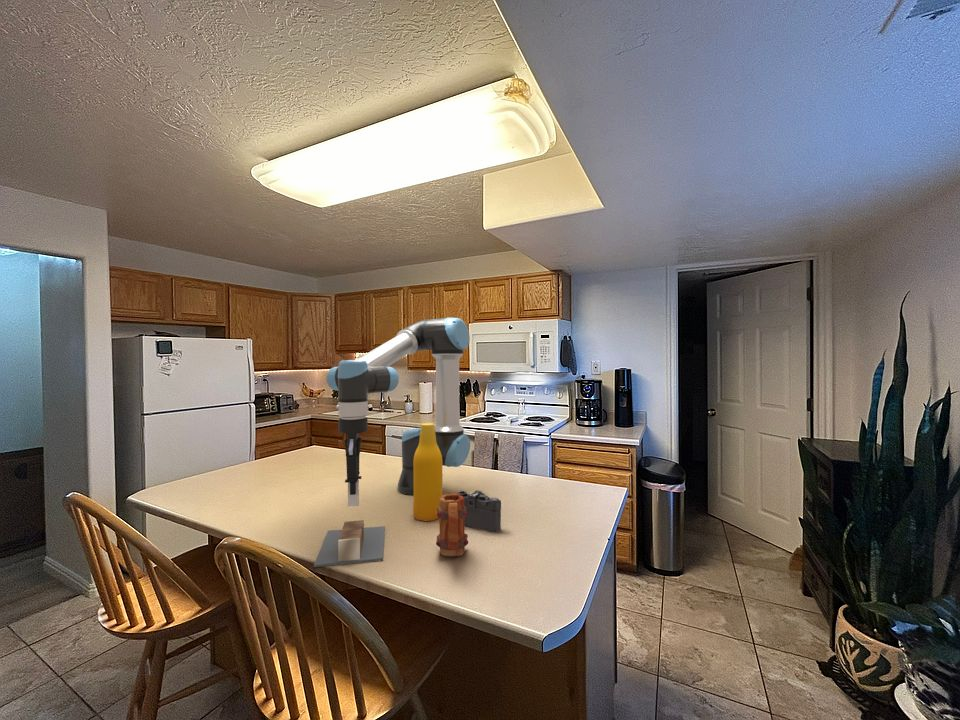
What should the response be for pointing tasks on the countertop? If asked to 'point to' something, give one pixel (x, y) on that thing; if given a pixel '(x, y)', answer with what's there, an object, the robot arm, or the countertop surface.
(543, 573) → the countertop surface
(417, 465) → the beer bottle
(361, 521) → the block
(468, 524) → the camera
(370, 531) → the mat
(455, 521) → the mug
